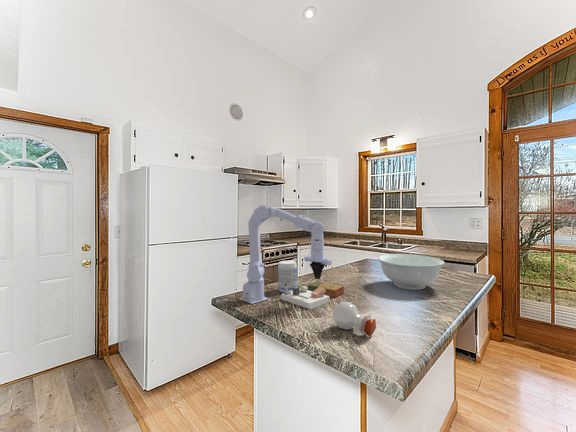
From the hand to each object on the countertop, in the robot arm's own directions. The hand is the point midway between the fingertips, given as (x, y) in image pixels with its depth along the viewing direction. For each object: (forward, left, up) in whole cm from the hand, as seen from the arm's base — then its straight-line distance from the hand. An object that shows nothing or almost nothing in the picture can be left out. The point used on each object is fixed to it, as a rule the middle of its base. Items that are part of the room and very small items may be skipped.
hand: (317, 278), depth 129 cm
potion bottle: (-14, -28, -11) cm, 33 cm away
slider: (-6, +8, -8) cm, 13 cm away
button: (0, +10, -8) cm, 12 cm away
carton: (+13, +6, -11) cm, 18 cm away
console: (-3, +5, -10) cm, 12 cm away
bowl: (+54, -18, -11) cm, 58 cm away
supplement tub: (+2, +22, -11) cm, 25 cm away
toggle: (-8, +12, -7) cm, 16 cm away
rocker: (0, 0, -6) cm, 6 cm away
